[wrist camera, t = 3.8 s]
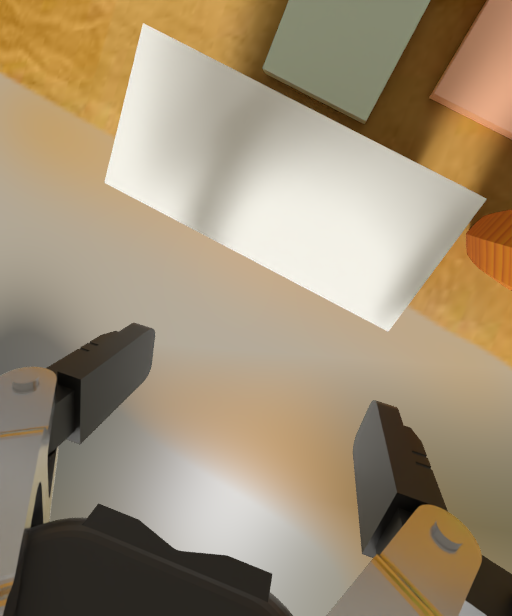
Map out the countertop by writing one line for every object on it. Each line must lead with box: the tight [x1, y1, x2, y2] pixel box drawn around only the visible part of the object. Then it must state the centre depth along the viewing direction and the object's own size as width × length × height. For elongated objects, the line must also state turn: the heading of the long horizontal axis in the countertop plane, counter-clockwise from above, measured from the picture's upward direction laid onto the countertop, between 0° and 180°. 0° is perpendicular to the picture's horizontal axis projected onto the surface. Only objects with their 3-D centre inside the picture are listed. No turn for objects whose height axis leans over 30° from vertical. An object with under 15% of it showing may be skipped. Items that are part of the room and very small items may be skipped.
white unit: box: [105, 23, 486, 331], centre depth 19 cm, size 16×8×13 cm, turn 64°
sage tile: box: [263, 0, 430, 124], centre depth 20 cm, size 8×8×1 cm
